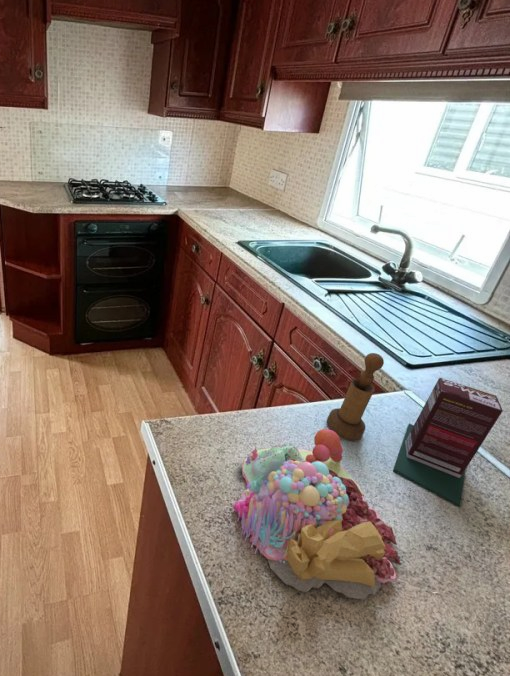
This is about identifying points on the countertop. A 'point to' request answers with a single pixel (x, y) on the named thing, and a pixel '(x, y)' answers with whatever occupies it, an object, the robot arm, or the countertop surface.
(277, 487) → the candy landscape model
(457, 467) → the supplement box
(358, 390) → the mortar and pestle
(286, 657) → the countertop surface
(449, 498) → the rubber mat
